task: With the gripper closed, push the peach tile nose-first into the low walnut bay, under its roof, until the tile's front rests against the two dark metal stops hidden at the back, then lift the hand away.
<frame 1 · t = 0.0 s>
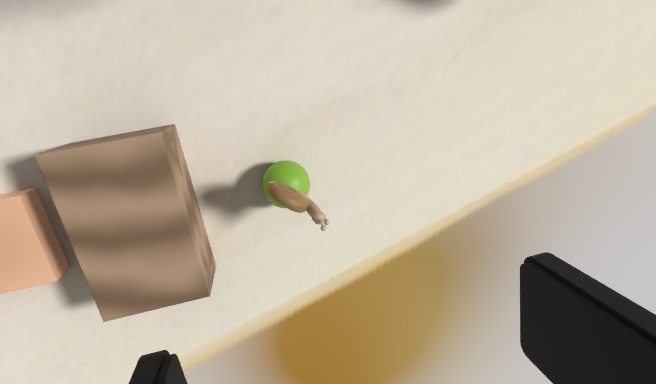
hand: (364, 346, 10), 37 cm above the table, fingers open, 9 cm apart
snail figurine: (287, 179, 46), on the table
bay: (144, 210, 44), on the table
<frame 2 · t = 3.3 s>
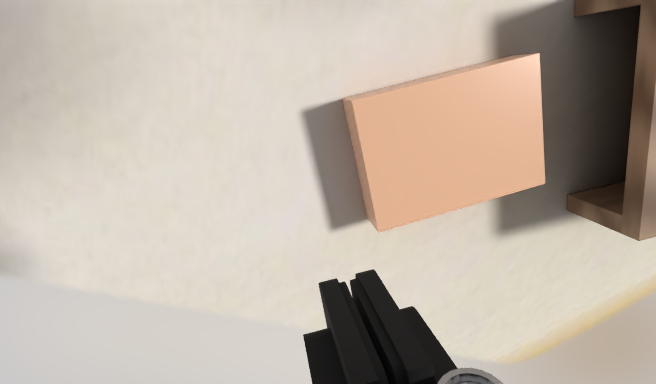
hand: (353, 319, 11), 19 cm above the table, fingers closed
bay: (622, 101, 33), on the table
peach tile: (435, 138, 31), on the table
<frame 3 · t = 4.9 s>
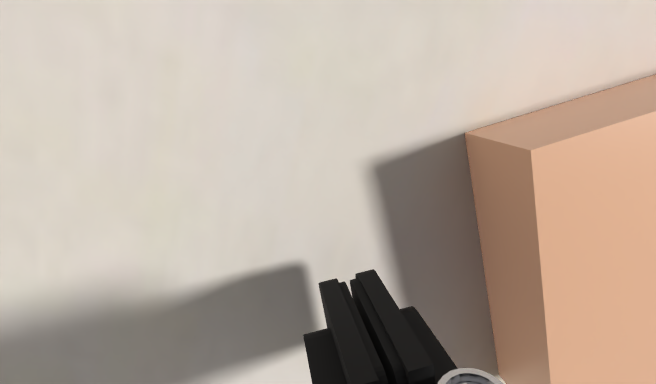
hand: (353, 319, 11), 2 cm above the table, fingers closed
peach tile: (644, 205, 14), on the table
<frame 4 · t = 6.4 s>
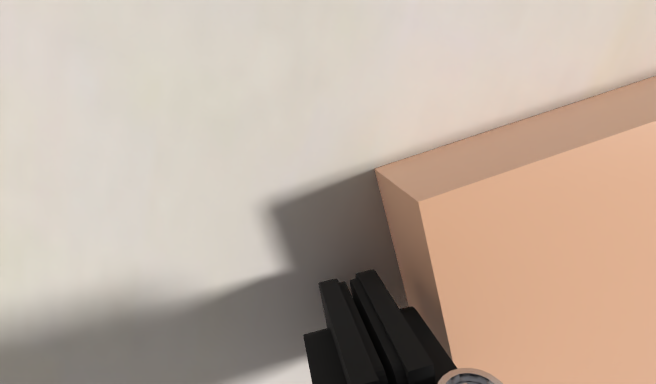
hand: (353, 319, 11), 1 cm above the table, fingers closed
peach tile: (586, 235, 14), on the table
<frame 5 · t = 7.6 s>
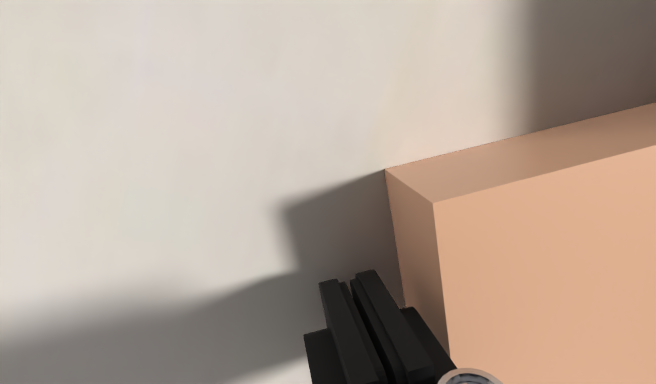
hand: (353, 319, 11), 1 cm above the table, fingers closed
peach tile: (584, 252, 14), on the table, touching gripper
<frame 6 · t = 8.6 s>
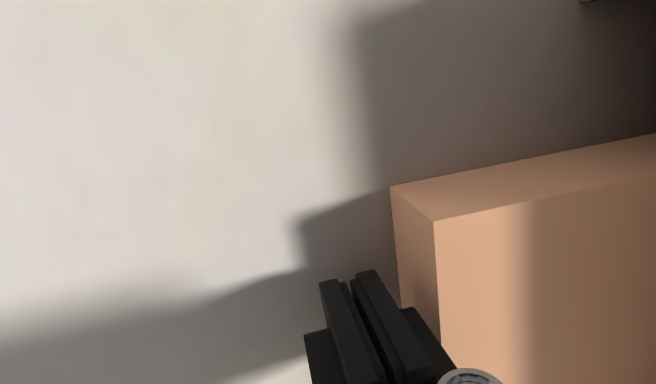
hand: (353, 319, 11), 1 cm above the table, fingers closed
peach tile: (574, 272, 14), on the table, touching gripper
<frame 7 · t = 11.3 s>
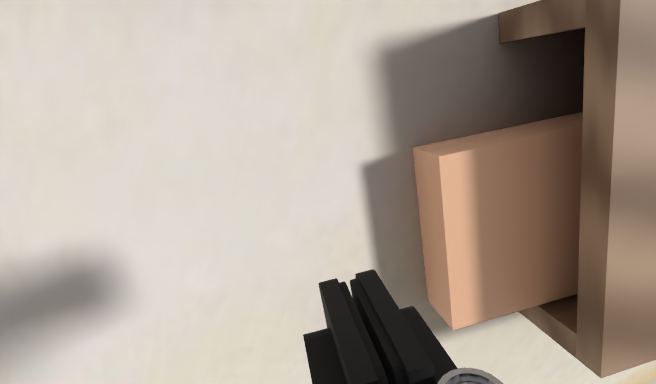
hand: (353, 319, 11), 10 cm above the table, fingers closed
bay: (576, 157, 24), on the table
peach tile: (520, 201, 24), on the table
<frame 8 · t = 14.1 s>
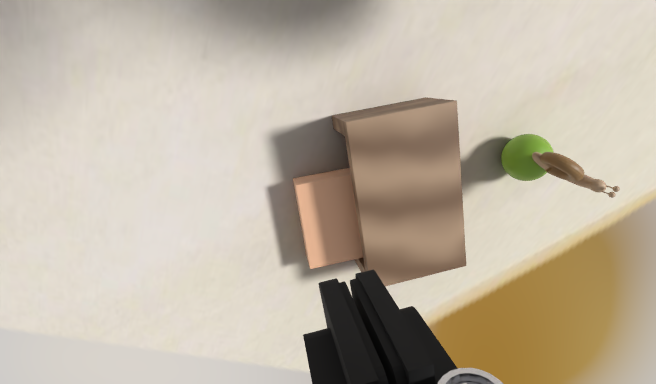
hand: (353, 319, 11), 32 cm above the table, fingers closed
snail figurine: (513, 154, 47), on the table
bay: (384, 183, 45), on the table
peach tile: (356, 206, 46), on the table
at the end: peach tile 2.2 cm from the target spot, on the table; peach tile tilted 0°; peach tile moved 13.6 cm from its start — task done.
